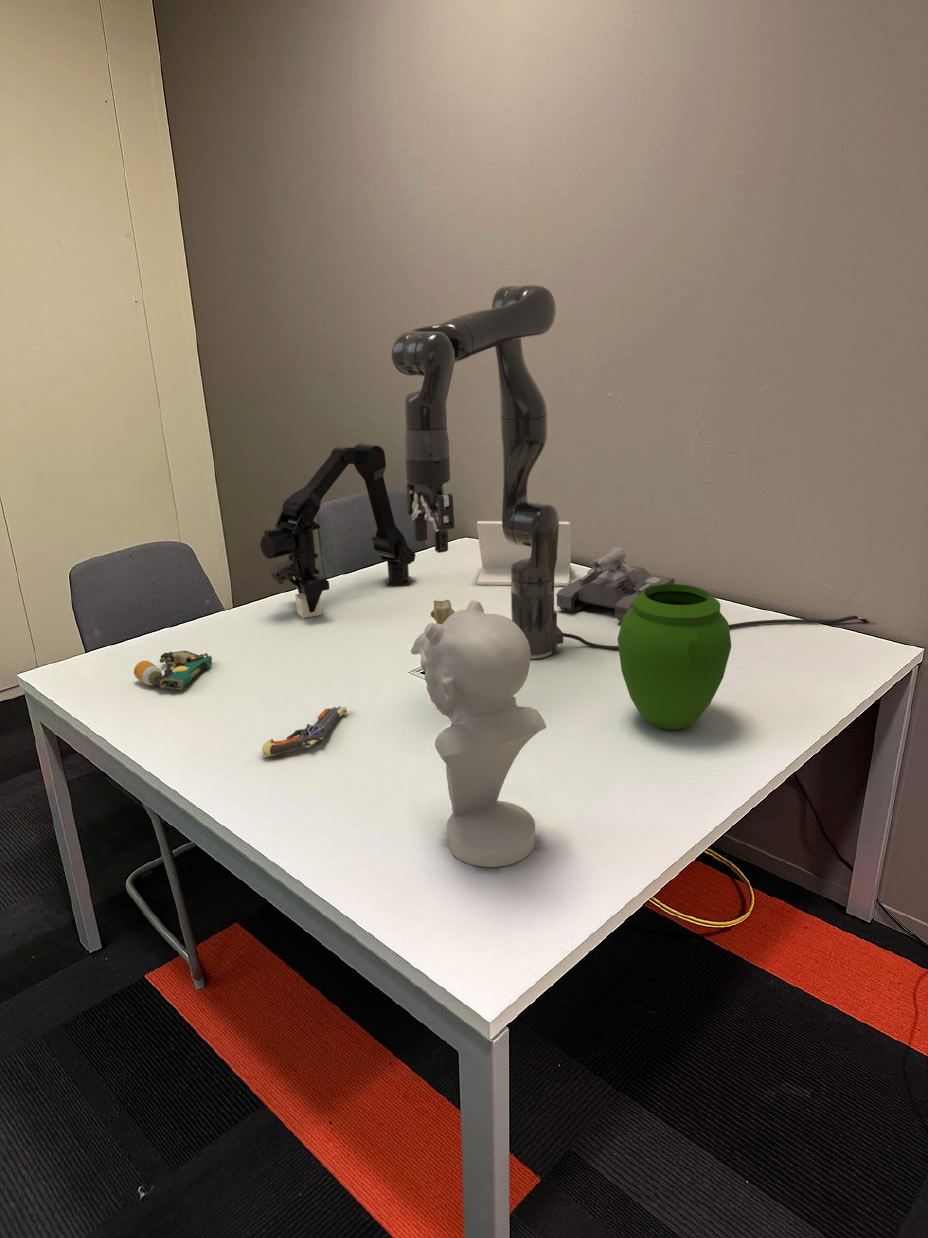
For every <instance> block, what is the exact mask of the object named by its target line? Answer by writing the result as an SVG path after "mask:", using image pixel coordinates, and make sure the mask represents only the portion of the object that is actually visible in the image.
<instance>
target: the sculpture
mask: <svg viewBox="0 0 928 1238" xmlns="http://www.w3.org/2000/svg"><path fill="white" fill-rule="evenodd" d="M455 612H456V611H455V609H453V608H452V602H451V601H450V599H445V600H433V610H431V612H430V617H431V618H432V619H433V620H434V621H435V622H436V623H435V624H443V623H444V622H445V620H446V619H447V618H448V617H450V616H451V615H452V614H453V613H455Z"/></svg>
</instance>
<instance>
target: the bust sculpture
mask: <svg viewBox="0 0 928 1238" xmlns="http://www.w3.org/2000/svg"><path fill="white" fill-rule="evenodd" d="M454 612H455V613H453V614H452V615H451V616H450V617H448V618H447V619H446V620H445V622H444V623H443V624H436V623H435V622H430V623H428V624H427V625H426V626H425V628H424V632H423V633H421V634H419V635H418V636H417V637H416V638H415V640H414V642H413V645H412V647H411V649H410V654H412V655H420V667H421V669H422V670H423V672H424V681H425V682H426V690H427V693H428V696H429V698H430V701H431V702H432V704H434V706H435V708H436V710H438V711H439V712H440V713H441V714H442V716H446V717H447V718H448V719H449V720H450V726H448V727H446V728H445V729H443V730H442V731H441V732H440V733H439V734H438V735H436V738H435V741H434V748H435V749H436V752H437V753H438V755H439V757H440V758H441V760H442V761H443V762H444V763H445V771H446V781H447V790H448V796H449V800H450V803H451V810H452V813H451V814H450V815H449V817H448V819H447V822H446V844H447V847H448V849H449V851H450V852H451V854H452V855H453V856H454V857H456V858H457V859H459V860H460V861H462V862H463V863H466V864H469V865H471V866H476V867H483V868H498V867H505V866H509V865H512V864H517V862H520V861H521V860H523V859H525V858H527V856H528V855H530V854H531V852H532V851H533V849H535V848H534V847H535V845H536V822H535V821H536V820H535V819H534V817H533V816H532V814H531V813H530V812H529V811H528V810H526V809H525V808H524V807H522V806H520V805H517V804H515V803H513V802H509V801H504V800H499V796H500V793H501V790H502V788H503V785H504V783H505V780H506V778H507V776H508V773H509V771H510V769H511V768H512V765H513V763H514V761H515V760H516V759H517V756H518V755H519V753H520V752H521V750H522V749H523V748H524V747H525V745H526V744H527V743H528V742H529V741H530V740H531V739H532V738H533V737H535V735H537V734H538V733H539V732H541V731H544V730H545V729H546V728H547V725H546V723H545V720H544V718H543V717H542V714H541V713H540V712H539V711H538V710H537V709H535V708H533V707H530V706H518V705H517V701H516V699H517V698H516V696H515V695H516V694H517V693H519V691H521V689H522V688H523V686H524V684H525V683H526V680H527V678H528V675H529V669H530V666H531V659H530V656H531V655H530V653H531V652H530V646H529V643H528V640H527V638H526V636H525V634H524V633H523V632H522V630H521V629H520V628H519V627H518V626H517V625H516V624H515V623H514V622H513V621H512V620H511V618H508V617H507V616H504V615H503V614H502V615H501V614H496V613H485V609H484V607H483V605H482V603H481V602H480V601H478V600H473V599H472V600H470V601H469V603H468V605H467V607H466V609H460V610H457V611H454Z"/></svg>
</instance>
